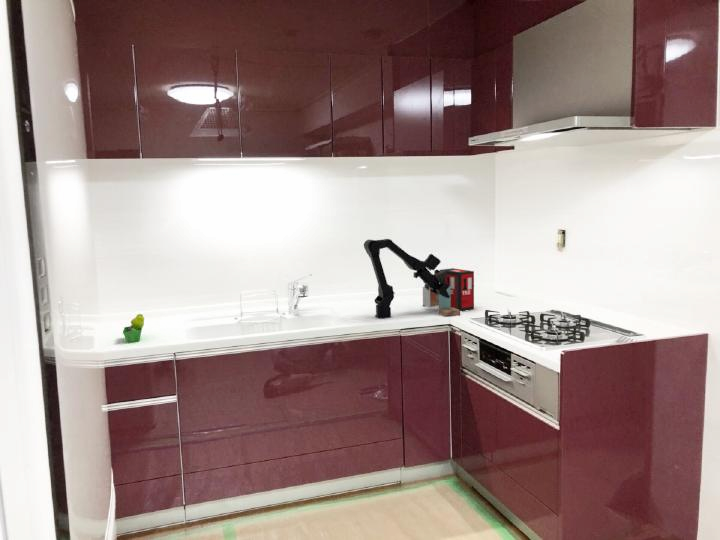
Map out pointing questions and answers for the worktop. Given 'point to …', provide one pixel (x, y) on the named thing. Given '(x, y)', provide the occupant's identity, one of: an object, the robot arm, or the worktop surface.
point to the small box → (430, 298)
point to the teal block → (445, 300)
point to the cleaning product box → (460, 288)
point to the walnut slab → (449, 312)
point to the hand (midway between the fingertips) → (447, 296)
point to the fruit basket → (134, 329)
